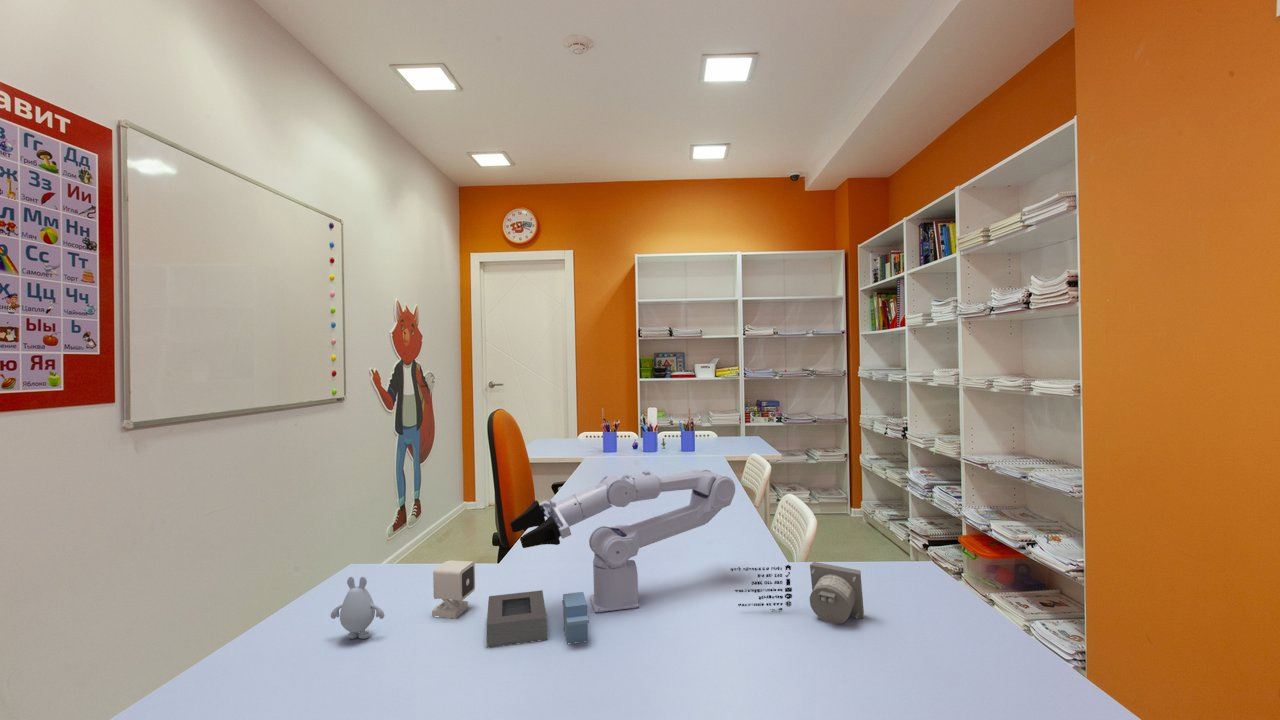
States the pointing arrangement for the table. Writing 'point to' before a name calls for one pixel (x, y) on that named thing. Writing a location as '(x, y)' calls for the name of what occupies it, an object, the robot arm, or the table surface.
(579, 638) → the block
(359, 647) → the table surface
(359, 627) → the toy figure
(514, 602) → the frame
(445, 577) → the security camera
